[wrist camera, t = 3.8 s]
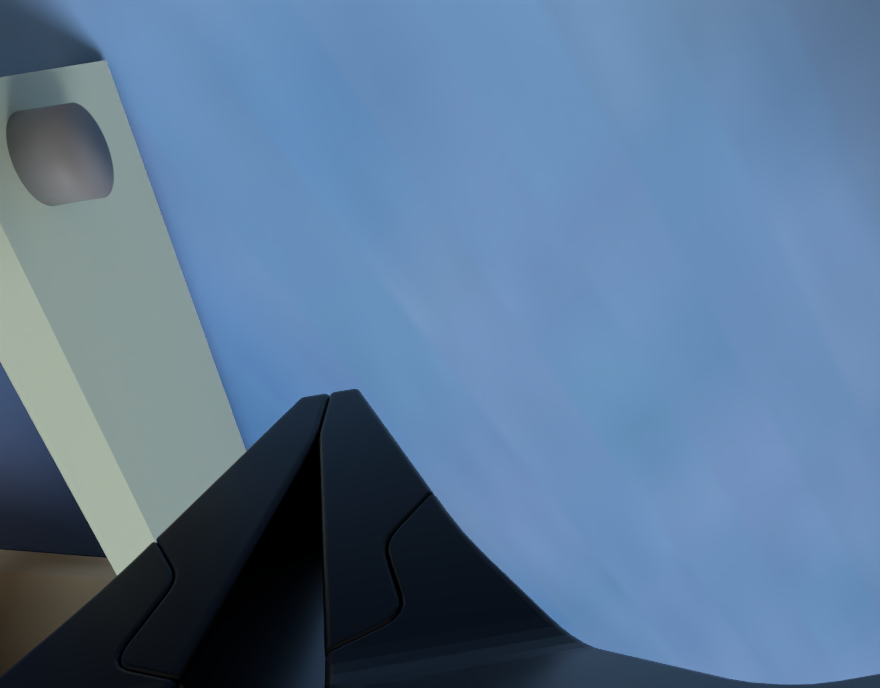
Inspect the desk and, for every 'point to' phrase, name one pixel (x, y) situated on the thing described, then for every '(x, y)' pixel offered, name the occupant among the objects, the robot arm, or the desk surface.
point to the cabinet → (43, 596)
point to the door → (102, 313)
